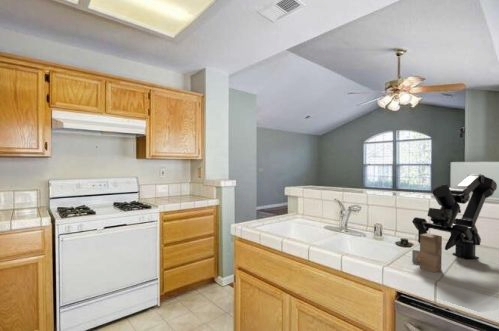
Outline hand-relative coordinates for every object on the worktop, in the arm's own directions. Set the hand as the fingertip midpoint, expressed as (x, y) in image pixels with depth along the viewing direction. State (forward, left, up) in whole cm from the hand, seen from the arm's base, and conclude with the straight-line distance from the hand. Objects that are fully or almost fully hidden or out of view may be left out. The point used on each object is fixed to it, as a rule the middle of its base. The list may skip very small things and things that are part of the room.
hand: (431, 245), depth 100 cm
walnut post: (+1, 0, -8) cm, 9 cm away
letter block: (-2, -8, -9) cm, 12 cm away
